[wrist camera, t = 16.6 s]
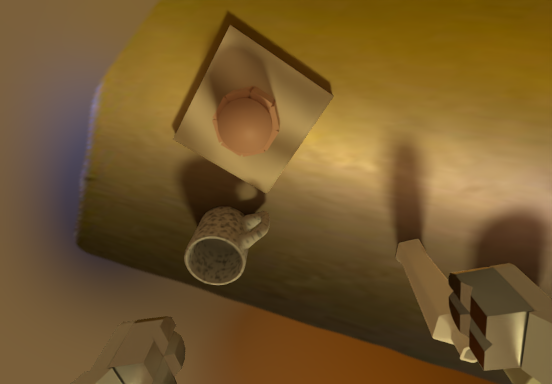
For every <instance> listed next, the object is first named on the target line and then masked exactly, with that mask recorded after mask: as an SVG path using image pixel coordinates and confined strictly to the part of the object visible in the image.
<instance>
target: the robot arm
mask: <svg viewBox="0 0 552 384" xmlns="http://www.w3.org/2000/svg"><path fill="white" fill-rule="evenodd" d="M448 284H449V286H450V287H451V289H452V290H453V292H452V293H451V294H450V296H449V308H450V312H451V316H452V318H453V321H454V323H455V325H456V327H457V328H458V330H459V332H460V333H462V334H464V335H465V336H467V337H469V348H470V349H471V351H472V353H473V354H474V356H475V357H476V359H477V361H478V362H479V364H480V365H481V367H482V369H483V370H484V371H486V370H497V369H509V368H520V367H522V368H521V369H522V370H523V371H525V372H526V373H527V374H529V375H530V376H532V377H533V378H534V379H536V380H537V381H539V382H540V383H541V384H552V299H551V298H550V297H549V296H548V295H546V294H545V293H544V292H543V291H542V290H541V289H540V288H539V287H538V286H537V285H536V284H535V283H533V282H532V281H531V280H530V279H529V278H528V277H527V276H526V275H525V274H524V273H523V272H522V271H520V270H519V269H518V268H517V267H516V266H515V265H513V264H511V263H506V264H500V265H494V266H489V267H483V268H477V269H471V270H465V271H459V272H452V273H450V275H449V283H448ZM175 326H176V324H175V322H174V321H173V319H172V317H168V316H165V317H158V318H149V319H141V320H137V321H128V322H123V323H121V324H120V325H118V327H117V328H116V330H115V331H114V333H113V335H112V336H111V338H110V339H109V341H108V343H107V344H106V346H105V347H104V349H103V351H102V352H101V354H100V356H99V357H98V359H97V360H96V362H95V364H94V365H93V367H92V368H91V370H90V371H87V372H84V373H83V374H82V375H80V376H79V377H78V378H77V379H76V380H74V381H73V382H72V383H71V384H177V383H176V380H175V377H174V376H175V375H176V374H177V373H178V372H179V371H180V370H181V369H182V366H183V363H184V360H185V345H184V341H183V339H182V337H181V335H180V334H178V333H176V332H175V331H174V328H175Z"/></svg>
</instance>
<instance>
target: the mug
mask: <svg viewBox="0 0 552 384" xmlns="http://www.w3.org/2000/svg"><path fill="white" fill-rule="evenodd" d="M258 223H260V224H259V226H258V227H257V228H256V229H254V230H252V231H251V229H252V228H254V227H255V226H256V225H257V224H258ZM269 225H270V218H269V214H268V213H267V212H266V211H261V212H258V213H254V214H247V215H244V214H243V213H242V212H240V211H239V210H237V209H235V208H232V207H228V206H220V207H215V208H213V209H210V210H209V211H208V212H206V213H205V214H204V216H203V217H202V219H201V221H200V223H199V225H198V227H197V229H196V231H195V233H194V235H193V237H192V239H191V241H190V243H189V245H188V246H187V248H186V250H185V255H184V260H185V264H186V267H187V269H188V270H189V272H190V273H191V274H192V275H193V276H194V277H195V278H197V279H198V280H200V281H202V282H204V283H207V284H212V285H224V284H228V283H231V282H233V281H235V280H236V279H238V278H239V277H240V276H241V274H242V273H243V271H244V268H245V263H246V258H247V253H248V248H249V247H251V246H252V245H253V244H254V243H255V242H256V241H257V240H259V239H260V238H262V237H263V236H264V235H265V234H266V233H267V232H268V229H269Z"/></svg>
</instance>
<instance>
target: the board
mask: <svg viewBox="0 0 552 384" xmlns="http://www.w3.org/2000/svg"><path fill="white" fill-rule="evenodd" d="M249 86H253V88H254V87H255V86H256V87H258V88H259V89H261V90H262V91H264V92H265V93H267V94H268V95H270V96H271V97H273V98H274V100H273V101H275V100H276V105H277V109H278V114H279V118H280V129H279V133H278V134H277V136H276V138H275V139H274V141H273V142H272V144H271V145H270V147H269V148H268V150H267V151H266V150H265V153H260V154H255V155H250V156H245V157H243V155H241V156H239V155H237V154H235V153H234V152H232V151H230V150H229V149H227V148H225V147H224V146H222V145H221V143H222V142H220V143H219V141H218V138H217V134H216V131H215V128H214V125H213V122H212V120H213V119H214V118H212V117H213V115H214V114H215V112H216V110H217V108H218V106H219V104H220V102H221V101H222V99H223V97H224V96H225V95H227V94H228V93H229V92H231V91H233V90H237V89H241V88H245V87H249ZM333 97H334V96H333V95H332V94H330V93H329V92H328V91H326V90H325V89H323V88H322V87H320V86H319V85H317V84H316V83H314V82H313V81H312V80H310V79H309V78H307V77H306V76H304V75H303V74H301V73H300V72H298V71H297V70H296V69H294V68H293V67H291V66H290V65H288V64H287V63H285V62H284V61H283V60H281V59H280V58H278V57H277V56H275V55H274V54H272V53H271V52H269V51H268V50H267V49H265V48H264V47H262V46H261V45H259V44H258V43H256V42H255V41H253V40H252V39H251V38H249V37H248V36H246V35H245V34H243V33H242V32H240V31H239V30H238V29H236V28H235V27H233V26H232V25H230V26H229V28H228V30H227V32H226V34H225V36H224V38H223V40H222V42H221V44H220V46H219V48H218V50H217V52H216V54H215V56H214V58H213V60H212V62H211V64H210V66H209V68H208V70H207V72H206V74H205V76H204V78H203V80H202V82H201V84H200V86H199V88H198V90H197V92H196V94H195V96H194V98H193V100H192V102H191V104H190V106H189V108H188V110H187V112H186V114H185V116H184V118H183V120H182V122H181V124H180V126H179V128H178V130H177V132H176V134H175V136H174V138H173V140H175V141H176V142H178V143H180V144H182V145H183V146H185V147H187V148H188V149H190V150H192V151H194V152H195V153H197V154H199V155H201V156H202V157H204V158H206V159H207V160H209V161H211V162H213V163H214V164H216V165H218V166H219V167H221V168H223V169H225V170H226V171H228V172H230V173H231V174H233V175H235V176H237V177H238V178H240V179H242V180H243V181H245V182H247V183H249V184H250V185H252V186H254V187H255V188H257V189H259V190H261V191H262V192H264V193H266V194H267V193H268V191H269V190H270V189H271V187H272V186H273V184H274V183H275V181H276V180H277V178H278V177H279V175H280V174H281V172H282V171H283V170H284V168H285V167H286V165H287V164H288V162H289V161H290V159H291V158H292V156H293V155H294V154H295V152H296V151H297V149H298V148H299V146H300V145H301V143H302V142H303V140H304V139H305V138H306V136H307V135H308V133H309V132H310V130H311V129H312V127H313V126H314V124H315V123H316V121H317V120H318V119H319V117H320V116H321V114H322V113H323V111H324V110H325V108H326V107H327V105H328V104H329V103H330V101H331V100H332V98H333Z"/></svg>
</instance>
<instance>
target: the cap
mask: <svg viewBox="0 0 552 384" xmlns="http://www.w3.org/2000/svg"><path fill="white" fill-rule="evenodd" d="M273 100H274V98H273V97H271V96H270V95H268V94H267V93H265V92H264V91H262V90H261V89H259V88H258V87H256V86H255V87H254V88H253V86H249V87H245V88H241V89H237V90H233V91H231V92H229V93H228V94H227V95H225V96H224V97H223V99H222V101H221V102H220V104H219V106H218V108H217V110H216V112H215V114H214V115H213V117H212V118H214V119H213V120H212V122H213V125H214V128H215V131H216V134H217V138H218V141H219V143H220V142H222V143H221V145H222V146H224V147H225V148H227V149H229V150H230V151H232V152H234V153H235V154H237V155H239V156H241V155H243V157H245V156H250V155H255V154H260V153H265V150H266V151H267V150H268V148H269V147H270V145H271V144H272V142H273V141H274V139H275V138H276V136H277V134H278V133H279V129H280V118H279V114H278V109H277V105H276V100H275V101H273Z"/></svg>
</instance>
